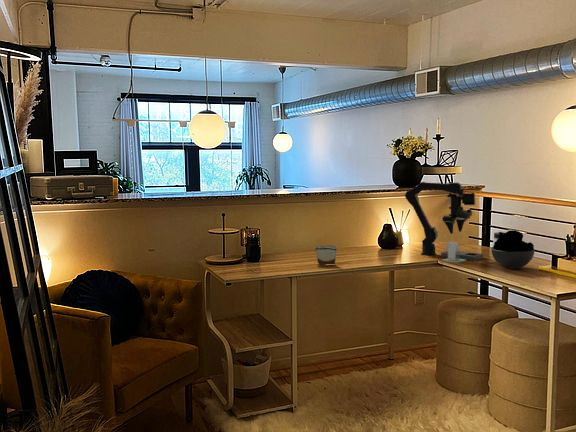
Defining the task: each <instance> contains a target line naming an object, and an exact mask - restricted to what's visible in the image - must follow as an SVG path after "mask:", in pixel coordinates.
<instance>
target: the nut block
mask: <svg viewBox="0 0 576 432" xmlns="http://www.w3.org/2000/svg"><path fill="white" fill-rule="evenodd" d="M460 251H461V246H460V244H458V245H454V244H451V245H448V260H452V261H457V260H460Z"/></svg>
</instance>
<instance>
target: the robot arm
mask: <svg viewBox="0 0 576 432" xmlns="http://www.w3.org/2000/svg"><path fill="white" fill-rule="evenodd" d="M462 187H463V186H462V184H461V183H460V182H448V183H439V182H425V181H420V182H419V183H418V184H417V185H416V186H415V187H413V188H412V189H410V190H408V191H406V192H405V194H404V197H405V199H406V201H407V202H408V203H409V204H410V206H412V208H413V210H414V212H415V214H416V216H417V218H418V220H419V223H420V224H421V226H422V227H423V232H424V236H425V238H424V239H423V240H422V241H421V242H422V244H421V245H422V246H421V247H422V248H421V249H422V252H421V253H420V255H424V256H434V255H437V253H436V245H435V241H436V240H437V239H438V238H439V235H438V234H439V231H437V227H436V226H432V224H431V223H430V221H429V220H428V218H427V216H426V214H425V211H424V209H423V208H422V206H421V203H420V201H419V194H420V193H421V192H422V191H423V190H431V191H433V190H436V191H445V192H447V193H449V194H447V196H446V198H450V206H449V207H448V209H450V213H449V214H448V215H444V216H442V222H443V223H444V225H446V227H447V229H448V232H449V233H450V234H451V235H452V234H454V233H453V232H454V227H455V225H454V224H455V223H456V226H457V229H458V233H461V232H462V230H463V228H464V224H465V222H466V221H468V220H469V219H471V216H473V213H472V212H473V211H472V209H467V210H465V209H464V207H463V206H462V204H463V205H464V206H475V205H476V194H475V192H469V193H468V192H467V193H466V192H465V191H464V189H463V188H462Z"/></svg>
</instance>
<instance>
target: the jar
mask: <svg viewBox="0 0 576 432" xmlns="http://www.w3.org/2000/svg"><path fill="white" fill-rule="evenodd" d="M499 232H500V231H498V232H494V233H493V239H492V241H493V242H492V247H493V246H494V242H495V241H497V239H498V238H499V237H500V236H499ZM501 232H502V233H503V234H504V233H506V232H503V231H501Z"/></svg>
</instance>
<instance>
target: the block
mask: <svg viewBox="0 0 576 432" xmlns="http://www.w3.org/2000/svg"><path fill="white" fill-rule="evenodd" d="M445 244H446V246H445V249H446V250H445V251H446V253H448V245H451V244H454V245H459V242H458V241H457V242H456V241H448V242H446V243H445Z"/></svg>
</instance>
